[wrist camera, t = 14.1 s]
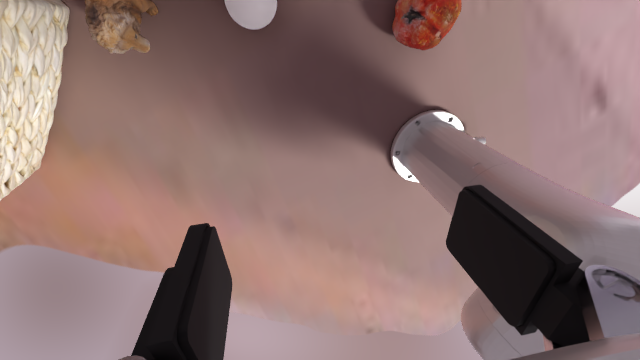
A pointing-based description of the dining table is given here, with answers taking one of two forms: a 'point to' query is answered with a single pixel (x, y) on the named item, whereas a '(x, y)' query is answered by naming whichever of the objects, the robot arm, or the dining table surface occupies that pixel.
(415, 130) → the robot arm
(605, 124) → the dining table surface
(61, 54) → the storage basket
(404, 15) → the pomegranate
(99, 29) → the lion figurine
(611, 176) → the dining table surface
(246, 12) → the off-white ceramic salt cellar
